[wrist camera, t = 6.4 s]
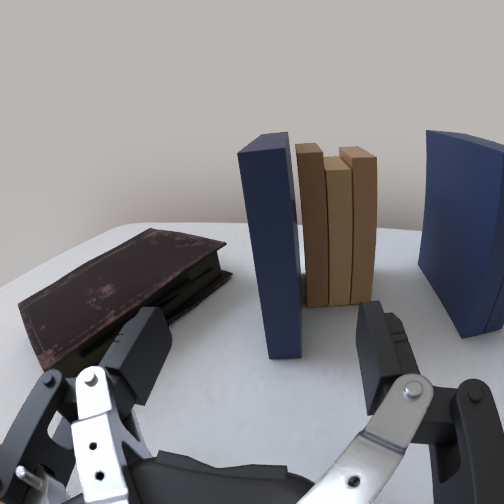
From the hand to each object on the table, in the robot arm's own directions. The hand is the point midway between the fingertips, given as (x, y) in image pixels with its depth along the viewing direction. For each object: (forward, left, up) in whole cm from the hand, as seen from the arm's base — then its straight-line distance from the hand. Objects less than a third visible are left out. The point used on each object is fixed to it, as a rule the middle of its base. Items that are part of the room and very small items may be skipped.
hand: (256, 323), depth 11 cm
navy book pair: (-20, -15, -11) cm, 28 cm away
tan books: (-5, -19, -11) cm, 23 cm away
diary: (+21, -15, -12) cm, 28 cm away
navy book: (0, -15, -11) cm, 19 cm away
